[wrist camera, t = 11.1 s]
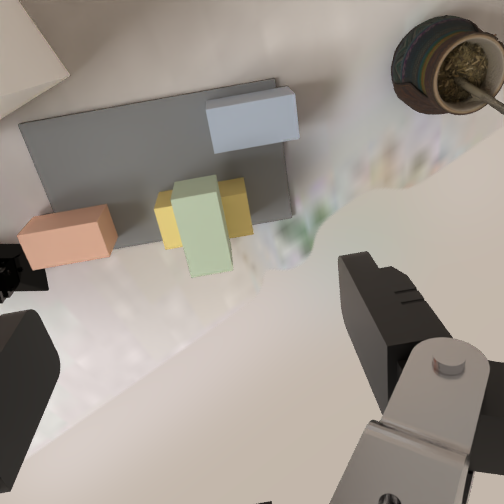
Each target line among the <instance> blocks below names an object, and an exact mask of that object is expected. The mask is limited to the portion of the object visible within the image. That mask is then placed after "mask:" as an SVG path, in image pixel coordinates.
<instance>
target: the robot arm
mask: <svg viewBox="0 0 504 504" xmlns="http://www.w3.org/2000/svg"><path fill="white" fill-rule="evenodd" d="M338 271H339V284H340V298H341V309H342V314H343V319H344V323H345V326H346V329H347V331H348V334H349V336H350V338H351V341H352V343H353V346H354V348H355V350H356V353H357V355H358V357H359V360H360V362H361V365H362V367H363V369H364V372H365V374H366V377H367V379H368V381H369V384H370V386H371V389H372V391H373V393H374V396H375V398H376V400H377V403H378V405H379V408H380V410H381V413H382V415H383V416H382V418H381V420H380V421H379V422H378V421H376V420H371V421H370V422H369V423H368V424H367V426H366V428H365V430H364V431H363V434H362V436H361V438H360V440H359V442H358V444H357V446H356V448H355V450H354V453H353V455H352V457H351V459H350V461H349V463H348V466H347V468H346V470H345V472H344V474H343V476H342V478H341V480H340V482H339V484H338V486H337V489H336V491H335V493H334V495H333V497H332V499H331V501H330V503H329V504H468V501H469V496H470V492H471V487H472V483H473V478H474V474H475V471H477V472H484V473H491V474H498V475H504V363H501V362H494V361H489V360H487V358H486V357H485V355H484V354H483V353H482V352H481V351H480V350H479V349H477V348H476V347H474V346H473V345H471V344H469V343H467V342H464V341H461V340H458V339H453V337H452V336H451V335H450V333H449V332H448V331H447V329H446V328H445V326H444V325H443V324H442V322H441V321H440V320H439V319H438V317H437V315H436V314H435V313H434V311H433V310H432V309H431V307H430V306H429V305H428V303H427V302H426V301H424V298H423V296H422V295H421V294H420V292H419V291H417V289H416V287H415V285H414V284H413V283H412V281H411V280H410V279H409V277H408V276H407V275H406V274H404V273H402V272H400V271H399V270H397V269H395V268H394V267H392V266H390V267H385V268H378V266H377V265H376V263H375V262H374V260H373V258H372V257H371V255H370V254H369V252H367V251H365V252H360V253H354V254H348V255H343V256H339V257H338ZM59 374H60V360H59V356H58V353H57V351H56V349H55V347H54V345H53V342H52V340H51V338H50V336H49V334H48V332H47V330H46V328H45V326H44V324H43V322H42V320H41V318H40V316H39V314H38V313H37V312H36V311H35V310H32V309H30V310H24V311H19V312H13V313H7V314H2V315H1V316H0V493H5V492H10V491H11V489H12V487H13V484H14V482H15V480H16V477H17V475H18V472H19V470H20V467H21V465H22V463H23V461H24V458H25V456H26V454H27V451H28V449H29V446H30V444H31V442H32V439H33V437H34V435H35V432H36V430H37V427H38V425H39V423H40V420H41V418H42V416H43V413H44V411H45V408H46V406H47V404H48V401H49V399H50V397H51V394H52V392H53V389H54V387H55V385H56V382H57V380H58V377H59ZM259 504H272V501H270V502H264V503H259Z"/></svg>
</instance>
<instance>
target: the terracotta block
mask: <svg viewBox="0 0 504 504" xmlns="http://www.w3.org/2000/svg"><path fill="white" fill-rule="evenodd" d="M17 238H18V240H19V242H20V244H21V246H22V249H23V251H24V253H25V255H26V257H27V259H28V261H29V263H30V266H31V268H32V270H38V269H43V268H49V267H55V266H60V265H66V264H72V263H77V262H83V261H89V260H94V259H100V258H106V257H110V255H111V252H112V250H113V248H114V245H115V243H116V241H117V238H118V235H117V232H116V229H115V226H114V223H113V220H112V218H111V215H110V212H109V209H108V206H107V204H103V205H97V206H92V207H86V208H80V209H75V210H69V211H63V212H58V213H52V214H46V215H41V216H35V217H33V218H32V219H31V220H30V221H29V222H28V223H27V225H26V226H25V227H24V228H23V229H22V230H21V231H20V233H19V234H18V235H17Z"/></svg>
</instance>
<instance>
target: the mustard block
mask: <svg viewBox="0 0 504 504" xmlns="http://www.w3.org/2000/svg"><path fill="white" fill-rule="evenodd" d="M218 186H219V191H220V196H221V200H222V205H223V210H224V215H225V219H226V224H227V229H228V234H229V238H235V237H241V236H247V235H252V234H254V233H253V228H252V222H251V216H250V210H249V205H248V199H247V193H246V188H245V182H244V177H242V178H236V179H231V180H225V181H219V182H218ZM172 191H173V190H169V191H163V192H159V193H158V197H157V200H156V203H155V207H154V212H155V215H156V219H157V222H158V225H159V229H160V232H161V236H162V239H163V243H164V246H165V250H167V249H173V248H178V247H183V245H182V241H181V237H180V234H179V230H178V226H177V223H176V219H175V215H174V211H173V208H172V204H171V195H172Z"/></svg>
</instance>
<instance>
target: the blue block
mask: <svg viewBox="0 0 504 504" xmlns="http://www.w3.org/2000/svg"><path fill="white" fill-rule="evenodd" d="M206 114H207V119H208V124H209V129H210V134H211V139H212V144H213V149H214V154H217V153H222V152H228V151H233V150H239V149H245V148H250V147H256V146H262V145H267V144H273V143H278V142H284V141H290V140H295V139H300V135H299V126H298V116H297V106H296V97H295V93H294V92H293V91H292V90H291V89H290V88H289V87H288V86H285V87H279V88H274V89H268V90H263V91H257V92H251V93H246V94H240V95H235V96H229V97H223V98H218V99H212V100H207V101H206Z"/></svg>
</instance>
